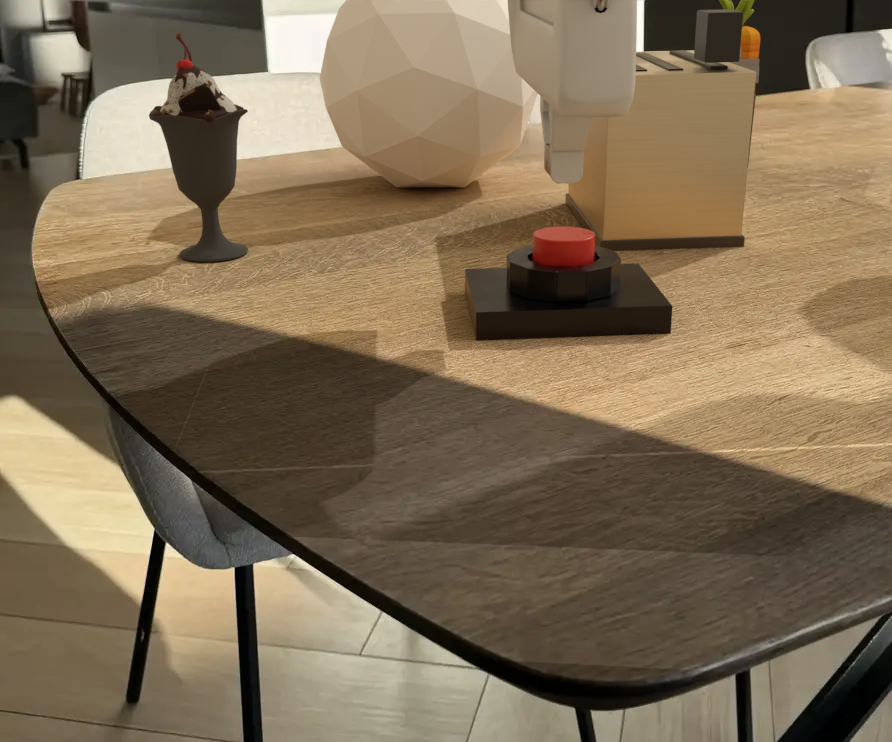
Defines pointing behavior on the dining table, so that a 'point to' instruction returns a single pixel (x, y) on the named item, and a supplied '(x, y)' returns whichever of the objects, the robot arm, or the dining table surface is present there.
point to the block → (564, 299)
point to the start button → (563, 246)
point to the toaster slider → (718, 35)
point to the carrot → (746, 29)
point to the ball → (425, 88)
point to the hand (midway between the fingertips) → (562, 178)
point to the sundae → (202, 152)
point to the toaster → (670, 158)
